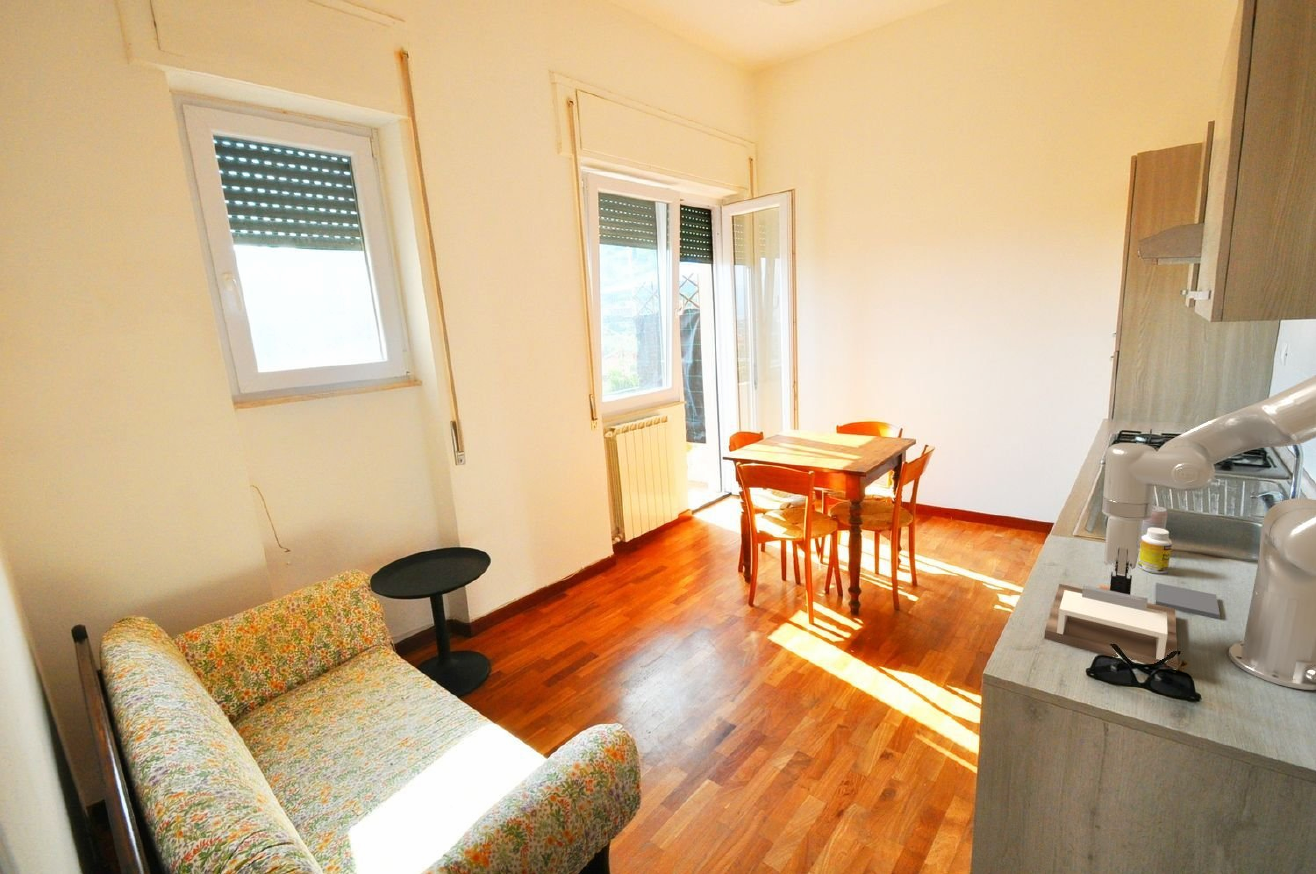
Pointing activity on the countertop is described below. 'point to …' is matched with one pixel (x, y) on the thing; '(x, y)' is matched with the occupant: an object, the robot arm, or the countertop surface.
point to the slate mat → (1187, 600)
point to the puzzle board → (1110, 634)
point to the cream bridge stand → (1115, 613)
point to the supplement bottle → (1155, 551)
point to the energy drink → (1155, 520)
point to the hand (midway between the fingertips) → (1119, 593)
